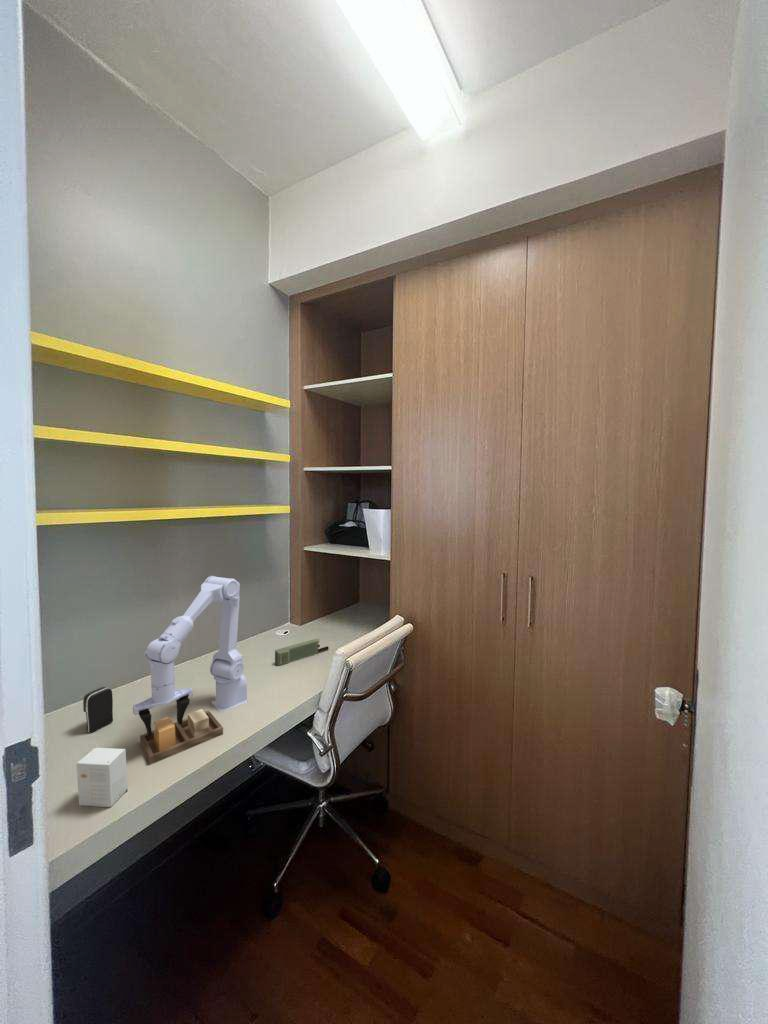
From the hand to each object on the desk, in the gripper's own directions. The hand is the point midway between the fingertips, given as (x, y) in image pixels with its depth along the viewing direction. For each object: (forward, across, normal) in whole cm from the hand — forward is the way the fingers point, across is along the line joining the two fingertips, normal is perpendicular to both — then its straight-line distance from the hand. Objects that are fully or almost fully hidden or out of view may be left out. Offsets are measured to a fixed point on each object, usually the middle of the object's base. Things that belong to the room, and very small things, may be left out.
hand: (164, 728), depth 111 cm
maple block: (+5, -9, 0) cm, 10 cm away
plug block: (+5, 0, 0) cm, 5 cm away
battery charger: (+6, +13, -24) cm, 28 cm away
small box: (+6, +16, +10) cm, 19 cm away
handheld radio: (+6, -59, -24) cm, 65 cm away
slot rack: (+6, -4, 0) cm, 7 cm away
